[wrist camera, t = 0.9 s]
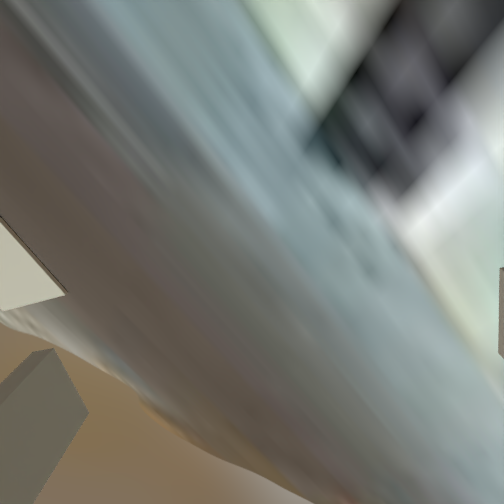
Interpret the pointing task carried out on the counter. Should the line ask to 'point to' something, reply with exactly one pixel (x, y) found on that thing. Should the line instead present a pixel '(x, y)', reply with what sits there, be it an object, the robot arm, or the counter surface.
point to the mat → (23, 273)
